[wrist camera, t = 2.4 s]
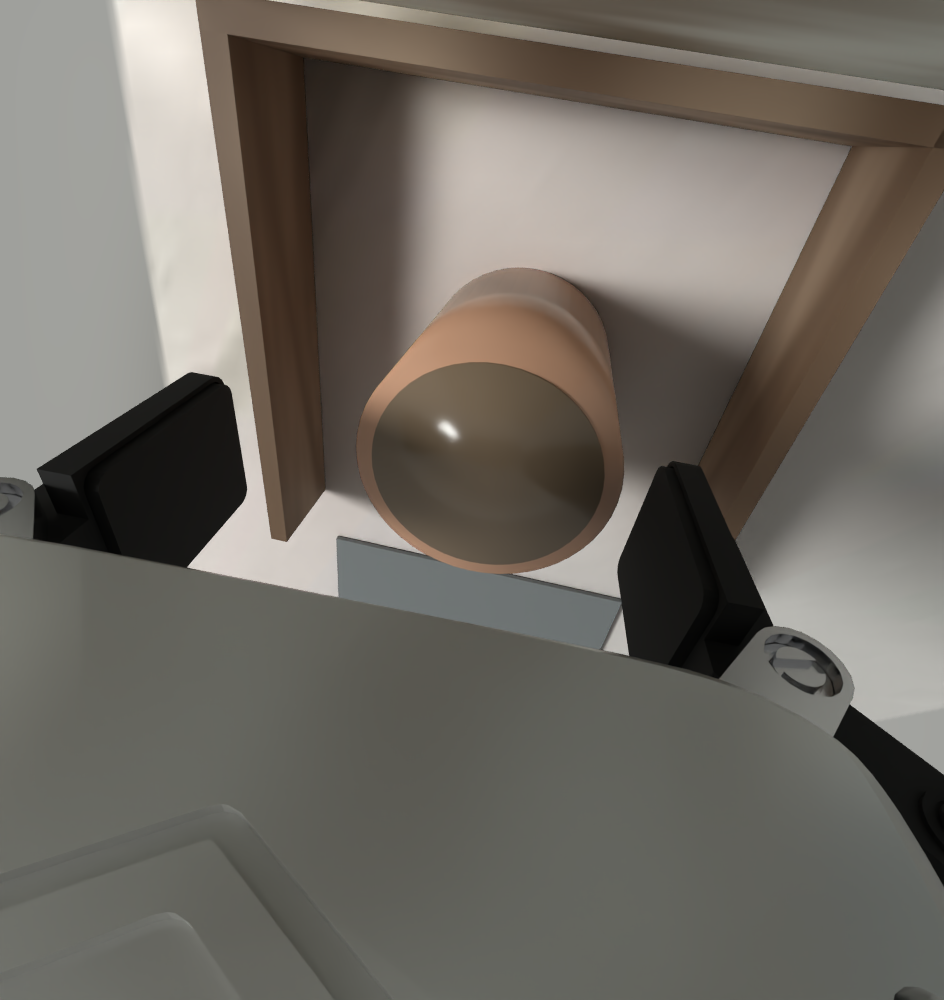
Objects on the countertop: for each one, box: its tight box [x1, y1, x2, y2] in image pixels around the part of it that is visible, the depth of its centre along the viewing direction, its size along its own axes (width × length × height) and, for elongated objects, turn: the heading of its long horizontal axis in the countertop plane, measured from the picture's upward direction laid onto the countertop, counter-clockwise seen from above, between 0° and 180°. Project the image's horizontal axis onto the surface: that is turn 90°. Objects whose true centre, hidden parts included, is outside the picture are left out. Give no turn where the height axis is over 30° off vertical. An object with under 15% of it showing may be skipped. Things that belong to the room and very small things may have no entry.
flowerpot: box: [356, 268, 624, 574], centre depth 14 cm, size 6×6×7 cm
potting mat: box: [336, 536, 622, 650], centre depth 25 cm, size 13×9×1 cm
